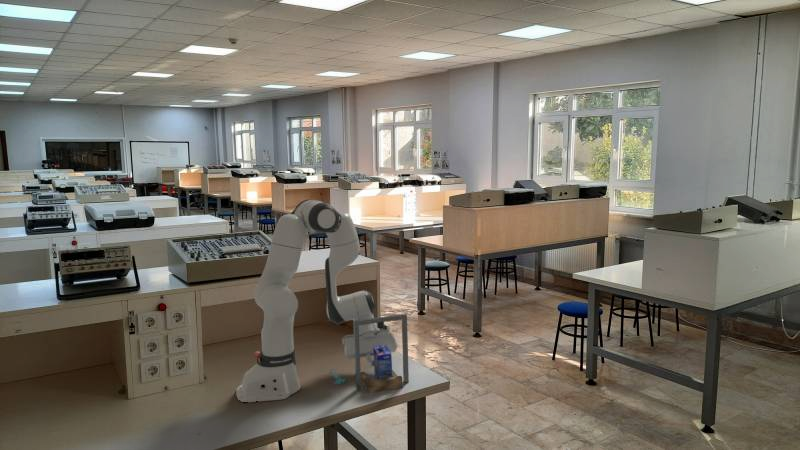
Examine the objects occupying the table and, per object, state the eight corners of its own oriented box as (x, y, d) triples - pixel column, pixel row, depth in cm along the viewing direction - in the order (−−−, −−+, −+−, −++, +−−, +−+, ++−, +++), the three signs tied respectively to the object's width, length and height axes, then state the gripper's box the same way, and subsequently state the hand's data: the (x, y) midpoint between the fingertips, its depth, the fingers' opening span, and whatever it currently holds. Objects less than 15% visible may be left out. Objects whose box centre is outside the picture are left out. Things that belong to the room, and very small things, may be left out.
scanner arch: (357, 391, 196) (354, 322, 193) (355, 388, 199) (353, 320, 195) (409, 382, 203) (407, 315, 199) (406, 380, 205) (405, 313, 201)
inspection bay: (370, 393, 194) (369, 382, 194) (360, 378, 207) (359, 368, 206) (402, 387, 198) (402, 377, 198) (390, 373, 211) (390, 363, 210)
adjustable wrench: (348, 381, 204) (335, 384, 202) (348, 383, 204) (335, 386, 202) (336, 368, 216) (324, 370, 214) (336, 370, 217) (324, 372, 215)
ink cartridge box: (373, 376, 208) (372, 339, 206) (387, 375, 210) (387, 338, 208) (378, 387, 199) (377, 349, 197) (393, 386, 200) (392, 347, 198)
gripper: (342, 332, 210) (349, 366, 203) (393, 325, 217) (402, 357, 209) (339, 339, 215) (346, 373, 207) (389, 332, 222) (398, 364, 214)
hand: (375, 365), depth 208 cm, fingers closed, pressing on ink cartridge box
